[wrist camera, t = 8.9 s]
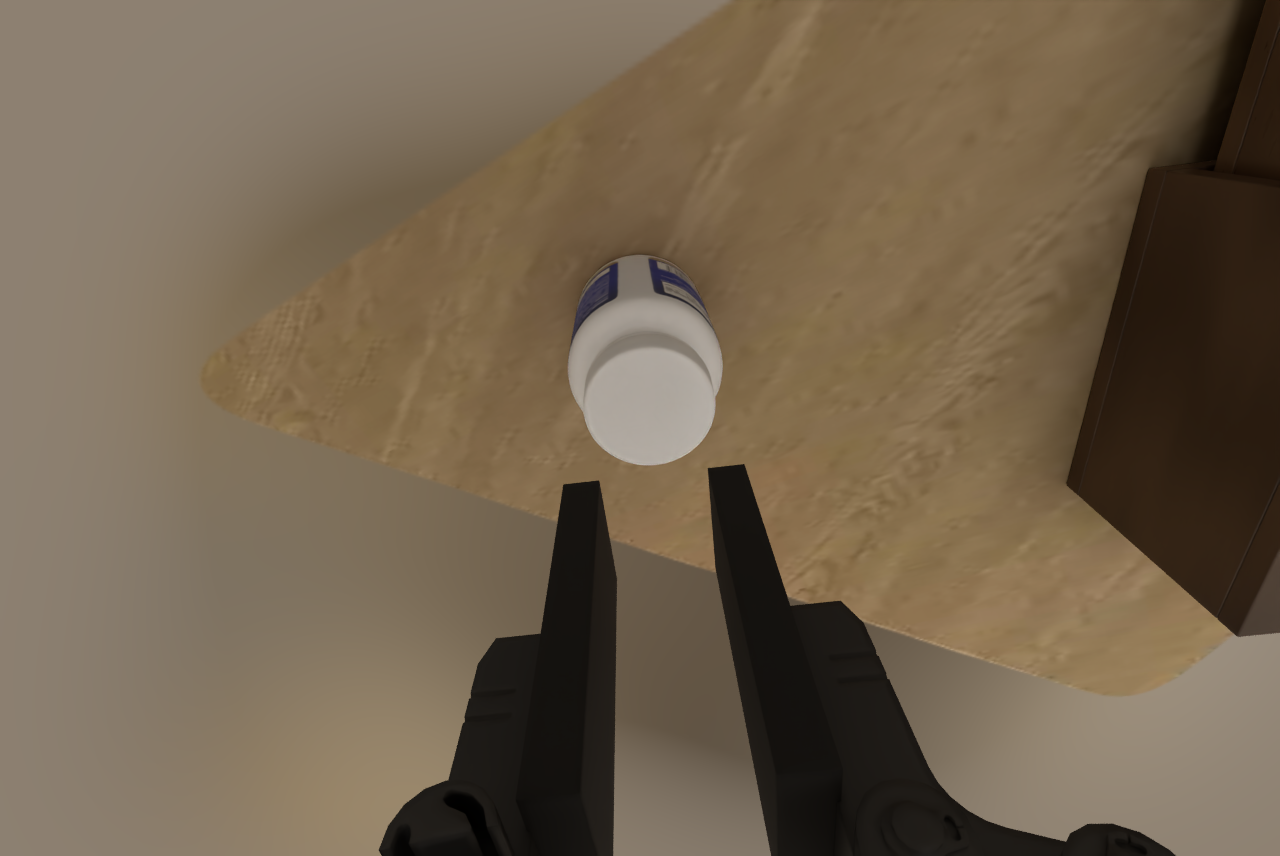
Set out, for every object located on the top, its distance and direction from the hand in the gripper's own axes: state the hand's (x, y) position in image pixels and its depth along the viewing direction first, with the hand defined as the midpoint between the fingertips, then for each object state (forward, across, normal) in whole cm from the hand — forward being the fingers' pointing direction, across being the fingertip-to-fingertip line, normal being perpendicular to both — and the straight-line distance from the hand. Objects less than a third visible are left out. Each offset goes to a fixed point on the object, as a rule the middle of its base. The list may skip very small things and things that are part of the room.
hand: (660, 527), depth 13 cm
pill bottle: (+15, 0, 0) cm, 15 cm away
